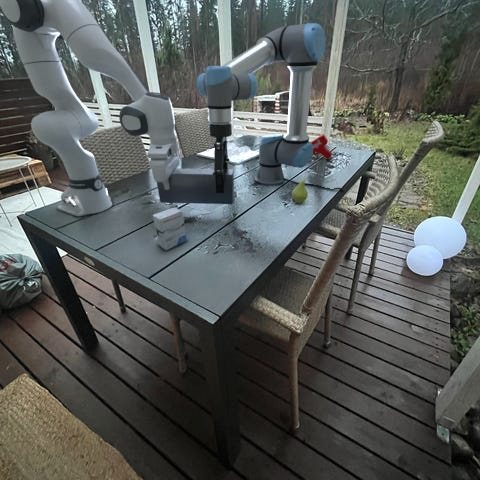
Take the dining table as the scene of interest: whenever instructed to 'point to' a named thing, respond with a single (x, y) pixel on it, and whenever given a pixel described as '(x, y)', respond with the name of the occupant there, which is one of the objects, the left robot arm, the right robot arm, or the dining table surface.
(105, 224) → the dining table surface
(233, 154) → the relief map
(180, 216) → the ink box
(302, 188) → the fruit
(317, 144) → the toy gun
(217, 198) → the box
